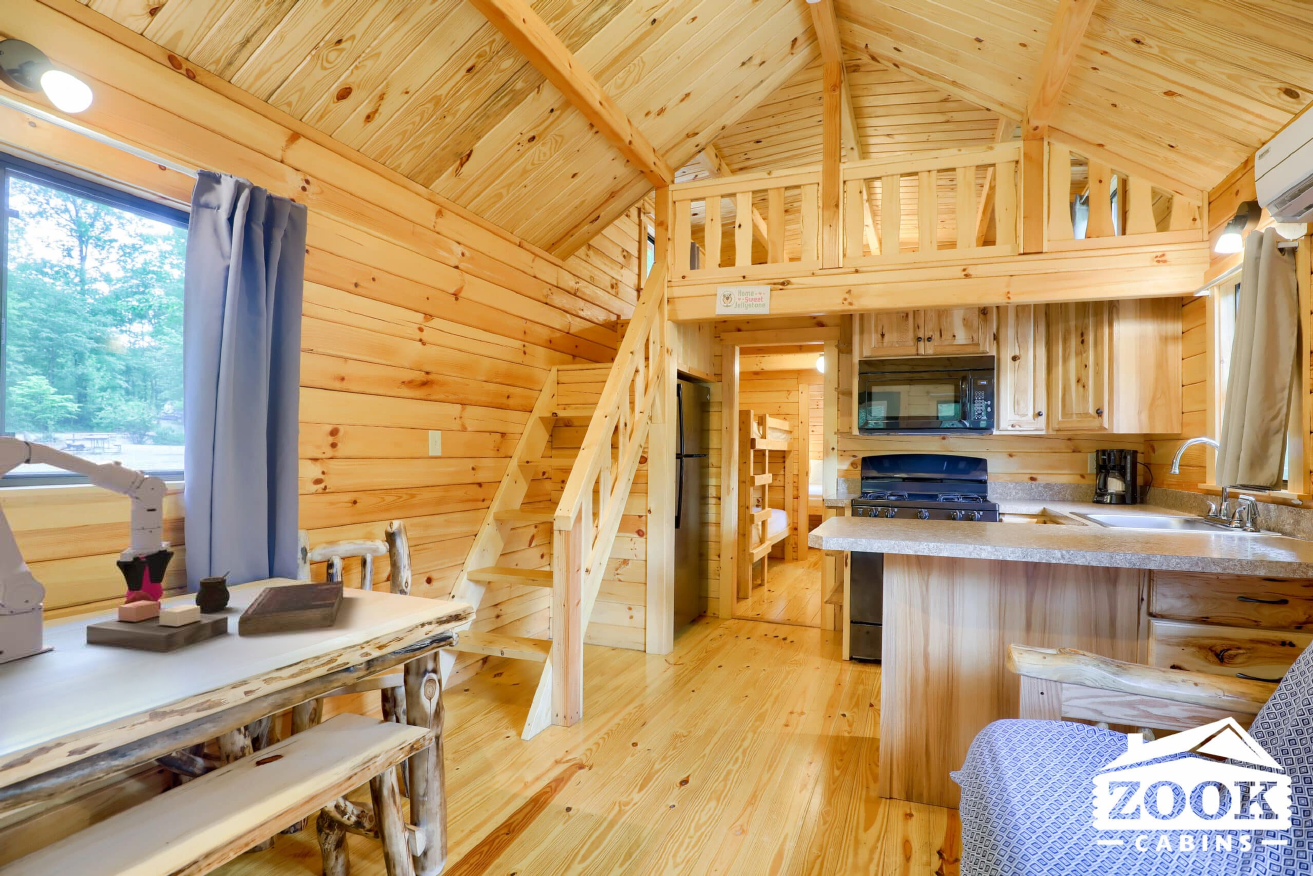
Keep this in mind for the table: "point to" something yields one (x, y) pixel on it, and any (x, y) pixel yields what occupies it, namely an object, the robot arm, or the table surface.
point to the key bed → (155, 632)
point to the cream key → (179, 615)
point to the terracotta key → (138, 611)
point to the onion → (138, 597)
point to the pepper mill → (149, 587)
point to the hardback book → (292, 608)
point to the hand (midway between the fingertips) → (145, 587)
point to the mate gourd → (212, 594)
